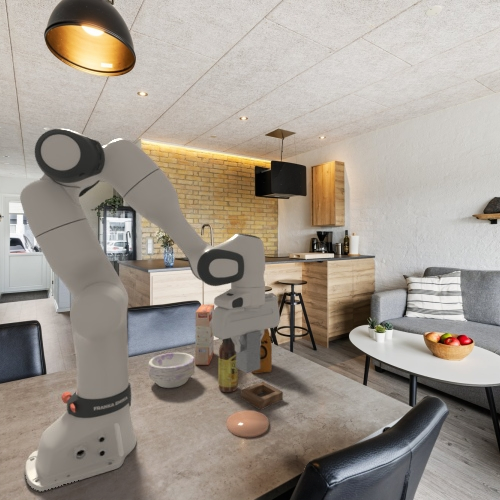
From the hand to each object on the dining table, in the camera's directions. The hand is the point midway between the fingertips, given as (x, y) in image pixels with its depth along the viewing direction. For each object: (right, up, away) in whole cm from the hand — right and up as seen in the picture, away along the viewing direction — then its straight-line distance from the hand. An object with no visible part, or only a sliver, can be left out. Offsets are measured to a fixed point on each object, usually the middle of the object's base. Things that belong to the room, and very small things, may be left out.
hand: (248, 348), depth 86 cm
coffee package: (+4, -19, +39) cm, 43 cm away
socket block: (+4, -20, +15) cm, 25 cm away
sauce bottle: (-7, -20, +21) cm, 30 cm away
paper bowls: (-26, -19, +26) cm, 42 cm away
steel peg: (0, -5, 0) cm, 5 cm away
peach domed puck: (0, -20, +1) cm, 20 cm away
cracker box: (-18, -18, +47) cm, 54 cm away
